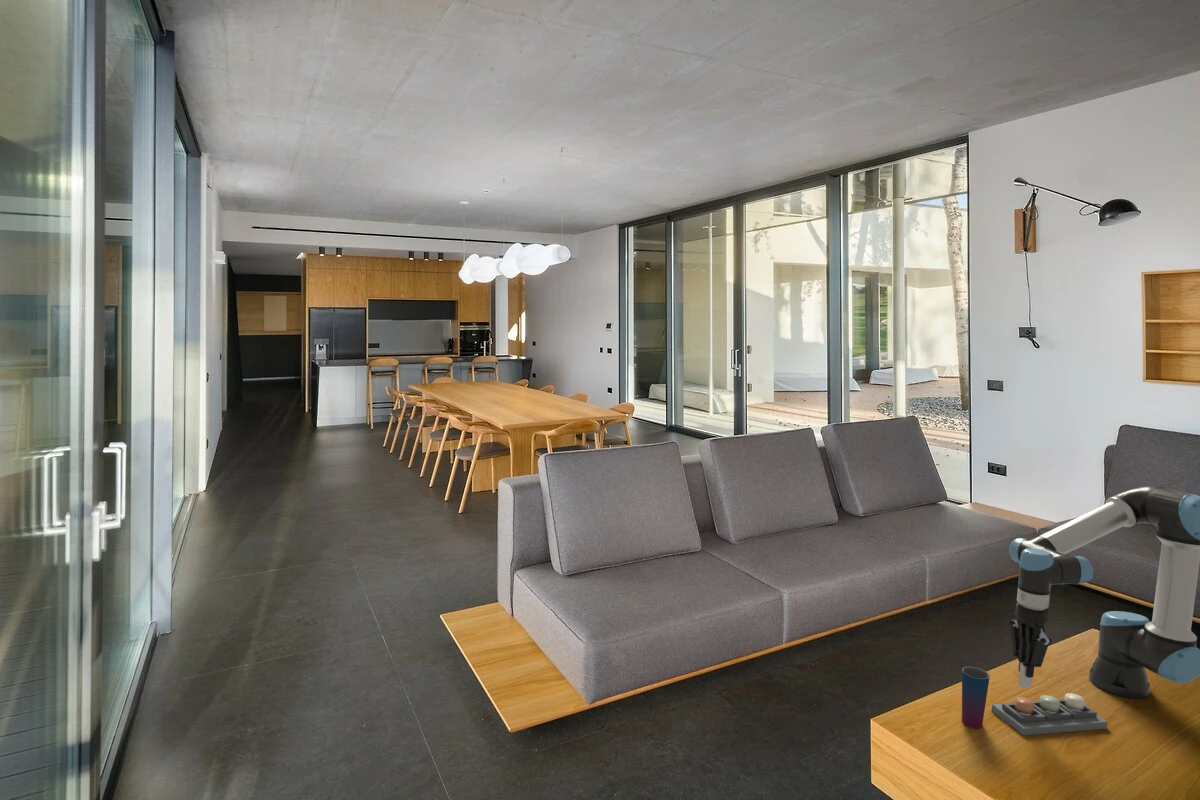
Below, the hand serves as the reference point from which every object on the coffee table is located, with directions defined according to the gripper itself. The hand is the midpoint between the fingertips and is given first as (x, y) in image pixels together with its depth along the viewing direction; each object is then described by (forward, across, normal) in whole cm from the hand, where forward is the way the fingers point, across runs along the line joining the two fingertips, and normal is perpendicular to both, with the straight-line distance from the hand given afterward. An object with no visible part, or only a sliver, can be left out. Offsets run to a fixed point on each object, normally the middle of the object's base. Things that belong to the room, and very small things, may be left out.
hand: (1024, 685), depth 189 cm
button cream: (+7, 0, +16) cm, 18 cm away
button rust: (+7, 0, 0) cm, 7 cm away
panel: (+11, 0, +8) cm, 14 cm away
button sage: (+7, 0, +8) cm, 11 cm away
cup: (+11, -1, -14) cm, 18 cm away
